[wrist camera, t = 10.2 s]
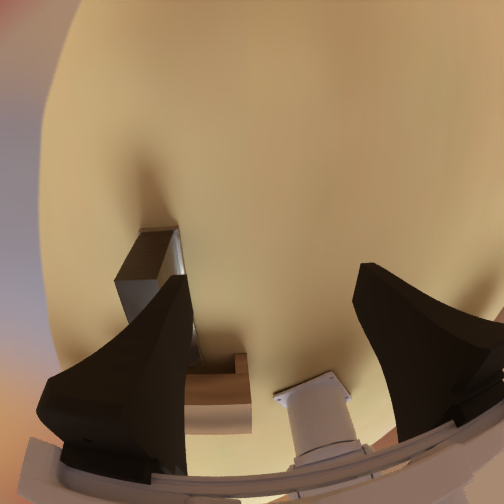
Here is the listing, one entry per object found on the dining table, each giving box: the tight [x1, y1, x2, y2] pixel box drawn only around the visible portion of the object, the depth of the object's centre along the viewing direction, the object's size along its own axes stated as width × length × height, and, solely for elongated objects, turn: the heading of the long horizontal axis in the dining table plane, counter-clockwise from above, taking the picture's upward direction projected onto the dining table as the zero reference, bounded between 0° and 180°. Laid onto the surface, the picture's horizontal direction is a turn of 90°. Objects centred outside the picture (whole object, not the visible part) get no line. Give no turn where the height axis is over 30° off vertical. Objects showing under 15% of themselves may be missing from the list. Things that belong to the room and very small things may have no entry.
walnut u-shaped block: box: [184, 353, 252, 435], centre depth 26 cm, size 8×12×6 cm
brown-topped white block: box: [114, 226, 203, 366], centre depth 20 cm, size 15×3×7 cm, turn 1°
